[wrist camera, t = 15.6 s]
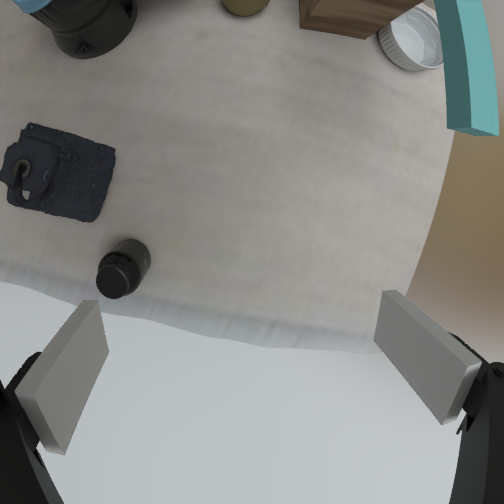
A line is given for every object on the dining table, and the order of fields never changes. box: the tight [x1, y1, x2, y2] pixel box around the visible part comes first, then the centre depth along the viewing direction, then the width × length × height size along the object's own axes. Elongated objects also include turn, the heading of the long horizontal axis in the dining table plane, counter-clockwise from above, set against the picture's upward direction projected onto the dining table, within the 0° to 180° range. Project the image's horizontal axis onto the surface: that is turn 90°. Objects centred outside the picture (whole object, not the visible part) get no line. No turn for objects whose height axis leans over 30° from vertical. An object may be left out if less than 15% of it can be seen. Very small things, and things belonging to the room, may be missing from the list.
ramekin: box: [379, 5, 444, 71], centre depth 42 cm, size 13×13×7 cm
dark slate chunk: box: [0, 123, 115, 222], centre depth 44 cm, size 15×22×5 cm
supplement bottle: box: [96, 240, 151, 299], centre depth 46 cm, size 7×7×12 cm
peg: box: [434, 0, 499, 136], centre depth 16 cm, size 23×5×4 cm, turn 179°
